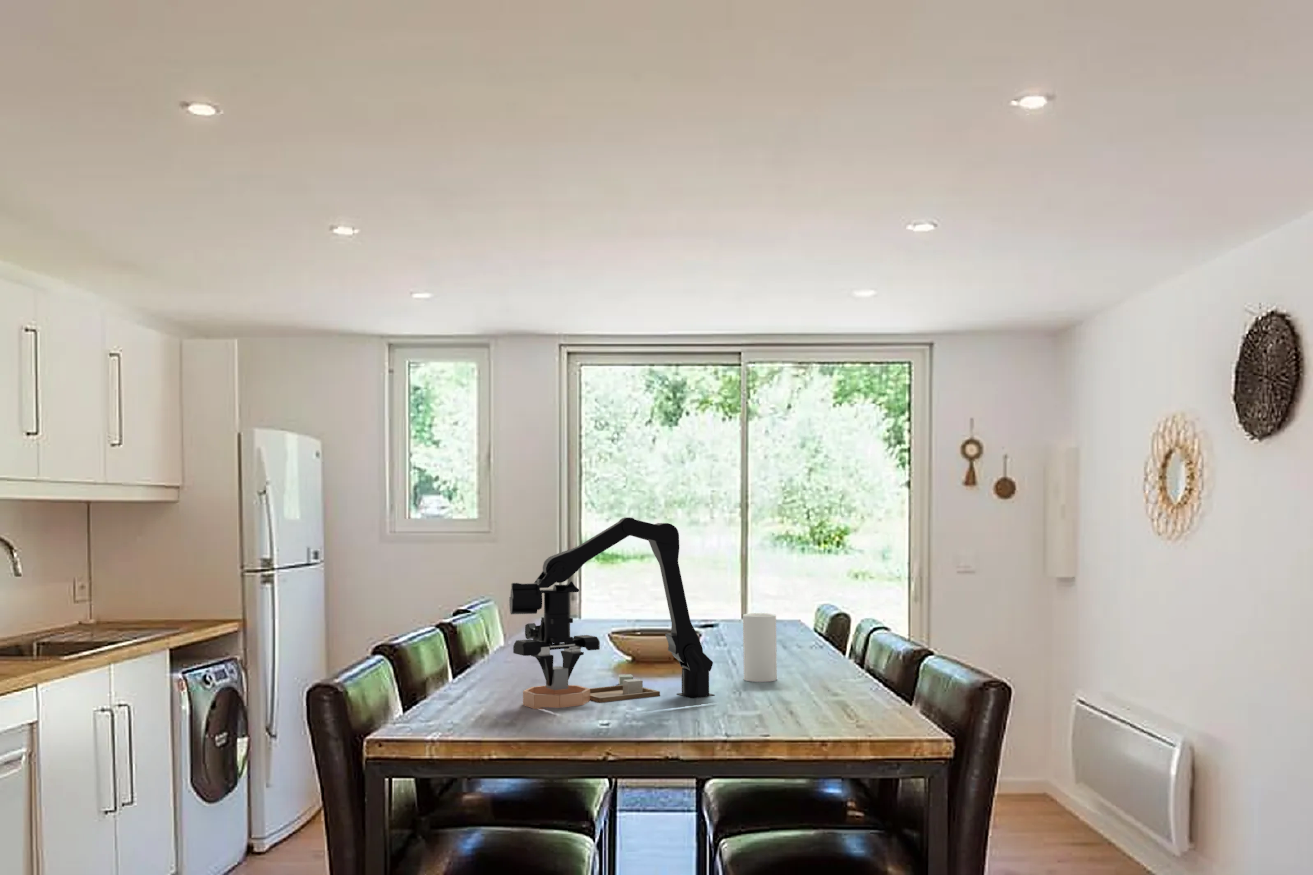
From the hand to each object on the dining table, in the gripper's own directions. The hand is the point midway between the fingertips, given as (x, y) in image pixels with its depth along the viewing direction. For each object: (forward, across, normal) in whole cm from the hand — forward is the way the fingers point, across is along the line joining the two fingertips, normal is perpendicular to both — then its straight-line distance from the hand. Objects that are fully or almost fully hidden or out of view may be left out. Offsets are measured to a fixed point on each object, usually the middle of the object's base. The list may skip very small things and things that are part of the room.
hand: (557, 685), depth 234 cm
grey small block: (+4, -19, +1) cm, 19 cm away
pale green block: (+2, -24, -11) cm, 27 cm away
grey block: (+1, 0, 0) cm, 1 cm away
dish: (+4, 0, 0) cm, 4 cm away
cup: (+4, -58, -2) cm, 58 cm away
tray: (+4, -15, 0) cm, 15 cm away
